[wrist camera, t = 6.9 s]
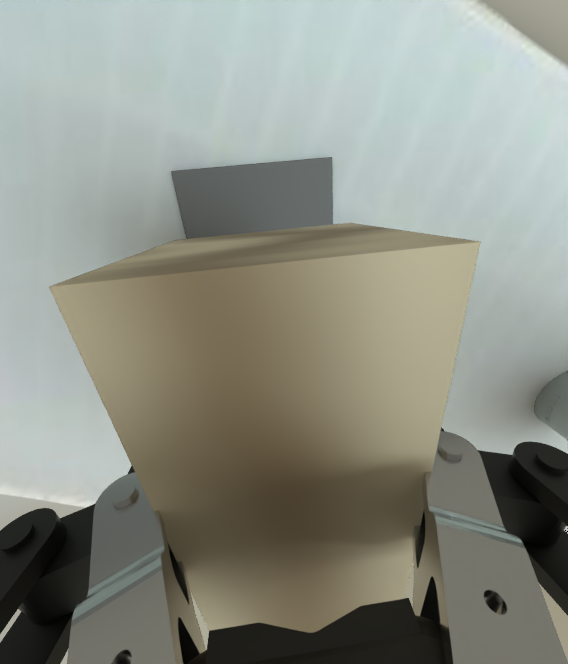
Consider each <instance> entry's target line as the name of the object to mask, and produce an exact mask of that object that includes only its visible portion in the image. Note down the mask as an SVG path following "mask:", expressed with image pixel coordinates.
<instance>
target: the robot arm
mask: <svg viewBox="0 0 568 664" xmlns="http://www.w3.org/2000/svg"><path fill="white" fill-rule="evenodd" d="M534 412H535V414H536V416H537V417H538V418H539V419H540V420H541V421H543V422H544V423H545V424H547V425H548V426H549V427H551V428H552V429H553V430H555V431H556V432H557V433H559V434H560V435H561V436H563V437H564V438H565V439H567V440H568V371H567V372H565V373H563V374H561V375H559V376H558V377H556V378H555V379H553V380H552V381H551V382H549V383H548V384H547V385H546V386H545V387H544V388H543V390H542V391H541V392H540V394H539V395H538V397H537V399H536V401H535V405H534ZM422 490H423V502H424V511H423V516H422V521H421V525H418V526H414V530H413V535H412V543H413V564H414V587H413V608H412V606H411V603H410V601H409V598H406V599H399V600H393V601H387V602H381V603H375V604H369V605H363V606H360V607H358V608H356V609H355V610H353V611H351V612H349V613H348V614H346V615H344V616H343V617H341V618H339V619H337V620H336V621H334V622H332V623H331V624H329V625H327V626H325V627H324V628H322V629H320V630H319V631H316V632H313V633H308V632H303V631H298V630H293V629H288V628H284V627H279V626H274V625H269V624H265V623H260V622H259V623H253V624H247V625H241V626H235V627H229V628H222V629H216V630H210V631H209V638H208V646H207V650H205V646H204V641H203V638H202V634H201V631H200V627H199V624H198V621H197V618H196V614H195V611H194V606H193V602H192V597H191V592H190V588H189V583H188V578H187V573H186V570H185V568H184V566H183V563H182V561H180V562H177V561H176V559H175V557H174V554H173V552H172V550H171V548H170V546H169V544H168V541H167V535H166V530H165V524H164V521H163V519H162V517H161V515H160V512H159V510H157V511H153V509H152V507H151V505H150V503H149V501H148V499H147V496H146V494H145V492H144V490H143V488H142V486H141V484H140V481H139V479H138V477H137V475H136V473H135V471H134V468H133V466H131V468H130V470H129V472H128V474H127V475H125V476H123V477H121V478H119V479H118V480H116V481H114V482H113V483H112V484H111V485H109V486H108V487H107V488H106V489H105V490H104V492H103V493H102V494H101V495H100V497H99V498H98V500H97V502H96V504H94V505H92V506H89V507H87V508H84V509H82V510H79V511H77V512H75V513H73V514H70V515H67V516H65V517H63V518H59V517H58V515H57V514H56V513H55V512H54V511H53V510H52V509H49V508H43V509H37V510H34V511H31V512H28V513H26V514H24V515H22V516H20V517H19V518H17V519H15V520H14V521H12V522H11V523H9V524H8V525H7V526H6V527H4V528H3V529H2V530H1V531H0V634H1V632H2V631H3V629H4V628H5V627H6V625H7V624H8V622H9V621H10V619H11V618H12V616H13V615H14V614H15V612H16V611H17V609H19V610H20V611H21V613H20V615H19V616H18V618H17V619H16V621H15V622H14V624H13V625H12V627H11V628H10V630H9V631H8V632H7V634H6V635H5V637H4V638H3V640H2V641H1V643H0V664H60V663H61V661H62V659H63V658H64V656H65V654H66V652H67V650H68V648H69V650H68V660H67V664H568V662H567V659H566V656H565V654H564V651H563V648H562V646H561V643H560V640H559V637H558V635H557V632H556V629H555V627H554V624H553V621H552V618H551V615H550V613H549V610H548V607H547V605H546V602H545V599H544V596H543V594H542V591H541V588H540V586H539V583H540V584H541V586H542V587H543V588H544V589H545V590H546V591H547V592H548V594H549V595H550V596H551V597H552V598H553V599H554V600H555V601H556V603H557V604H558V605H559V606H560V607H561V608H562V610H563V611H564V612H565V613H566V614H567V615H568V534H567V533H566V532H565V531H564V529H565V527H566V525H567V526H568V454H567V453H565V452H563V451H561V450H559V449H557V448H555V447H552V446H549V445H546V444H542V443H537V442H523V443H520V444H518V445H517V446H516V447H515V449H514V452H513V455H508V454H500V453H493V452H485V451H479V450H477V449H476V448H475V447H474V446H473V445H472V444H471V443H470V442H469V441H467V440H466V439H464V438H462V437H461V436H458V435H456V434H453V433H450V432H445V431H444V430H443V429H442V427H441V431H440V436H439V441H438V445H437V450H436V455H435V459H434V464H433V469H432V471H431V472H425V474H424V479H423V484H422ZM538 582H539V583H538Z"/></svg>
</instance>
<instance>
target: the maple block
mask: <svg viewBox="0 0 568 664" xmlns="http://www.w3.org/2000/svg"><path fill="white" fill-rule="evenodd" d="M479 247H480V242H479V241H472V240H465V239H458V238H451V237H444V236H437V235H430V234H423V233H416V232H410V231H403V230H396V229H389V228H382V227H375V226H368V225H361V224H354V223H344V224H334V225H324V226H314V227H304V228H294V229H284V230H274V231H263V232H253V233H243V234H233V235H223V236H213V237H203V238H193V239H183V240H174V241H172V242H169V243H166V244H163V245H161V246H158V247H155V248H153V249H150V250H147V251H144V252H142V253H139V254H136V255H134V256H131V257H128V258H126V259H123V260H120V261H117V262H115V263H112V264H109V265H107V266H104V267H101V268H99V269H96V270H93V271H90V272H88V273H85V274H82V275H80V276H77V277H74V278H72V279H69V280H66V281H63V282H61V283H58V284H55V285H53V286H50V287H49V288H50V290H51V292H52V294H53V296H54V299H55V301H56V303H57V305H58V307H59V309H60V312H61V314H62V316H63V318H64V320H65V322H66V324H67V327H68V329H69V331H70V333H71V335H72V337H73V339H74V342H75V344H76V346H77V348H78V350H79V352H80V355H81V357H82V359H83V361H84V363H85V365H86V367H87V370H88V372H89V374H90V376H91V378H92V380H93V382H94V385H95V387H96V389H97V391H98V393H99V395H100V398H101V400H102V402H103V404H104V406H105V408H106V410H107V413H108V415H109V417H110V419H111V421H112V423H113V425H114V428H115V430H116V432H117V434H118V436H119V438H120V441H121V443H122V445H123V447H124V449H125V451H126V453H127V456H128V458H129V460H130V462H131V464H132V466H133V468H134V471H135V473H136V475H137V477H138V479H139V481H140V484H141V486H142V488H143V490H144V492H145V494H146V496H147V499H148V501H149V503H150V505H151V507H152V509H153V511H157V510H159V512H160V515H161V517H162V519H163V521H164V524H165V530H166V535H167V541H168V544H169V546H170V548H171V550H172V552H173V554H174V557H175V559H176V561H177V562H180V561H182V563H183V566H184V568H185V570H186V573H187V578H188V583H189V588H190V591H191V593H192V595H193V597H194V600H195V601H196V604H197V606H198V608H199V610H200V613H201V615H202V617H203V619H204V621H205V623H206V625H207V628H208V630H209V631H210V630H216V629H222V628H229V627H235V626H241V625H247V624H253V623H259V622H260V623H265V624H269V625H274V626H279V627H284V628H288V629H293V630H298V631H303V632H308V633H313V632H316V631H319V630H320V629H322V628H324V627H325V626H327V625H329V624H331V623H332V622H334V621H336V620H337V619H339V618H341V617H343V616H344V615H346V614H348V613H349V612H351V611H353V610H355V609H356V608H358V607H360V606H363V605H369V604H375V603H381V602H387V601H393V600H399V599H405V596H406V592H407V587H408V582H409V578H410V573H411V568H412V563H413V543H412V535H413V530H414V526H418V525H421V521H422V516H423V511H424V502H423V490H422V484H423V479H424V474H425V472H431V471H432V469H433V464H434V459H435V455H436V450H437V445H438V441H439V436H440V431H441V426H442V422H443V417H444V412H445V407H446V403H447V398H448V393H449V389H450V384H451V379H452V374H453V370H454V365H455V360H456V355H457V351H458V346H459V341H460V337H461V332H462V327H463V322H464V318H465V313H466V308H467V303H468V299H469V294H470V289H471V284H472V280H473V275H474V270H475V266H476V261H477V256H478V251H479Z"/></svg>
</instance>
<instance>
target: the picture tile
mask: <svg viewBox="0 0 568 664" xmlns="http://www.w3.org/2000/svg"><path fill="white" fill-rule="evenodd" d="M171 172H172V176H173V181H174V185H175V190H176V194H177V198H178V203H179V207H180V212H181V216H182V220H183V225H184V229H185V234H186V238H187V239H193V238H203V237H213V236H223V235H233V234H243V233H253V232H263V231H274V230H284V229H294V228H304V227H314V226H324V225H333V193H332V157H328V158H317V159H305V160H294V161H282V162H271V163H259V164H248V165H237V166H225V167H214V168H202V169H191V170H179V171H171Z"/></svg>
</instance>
